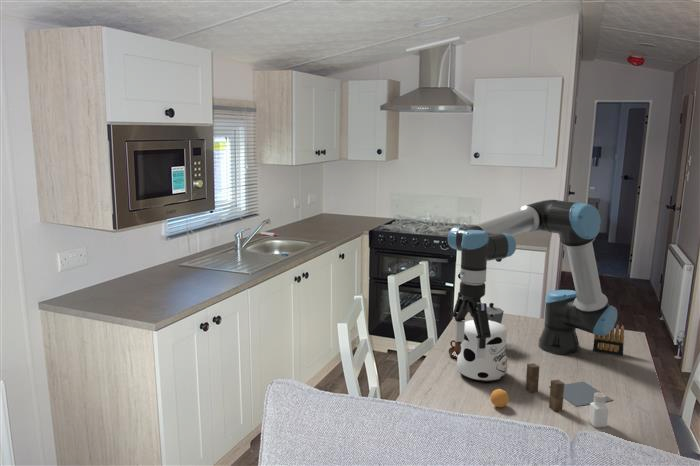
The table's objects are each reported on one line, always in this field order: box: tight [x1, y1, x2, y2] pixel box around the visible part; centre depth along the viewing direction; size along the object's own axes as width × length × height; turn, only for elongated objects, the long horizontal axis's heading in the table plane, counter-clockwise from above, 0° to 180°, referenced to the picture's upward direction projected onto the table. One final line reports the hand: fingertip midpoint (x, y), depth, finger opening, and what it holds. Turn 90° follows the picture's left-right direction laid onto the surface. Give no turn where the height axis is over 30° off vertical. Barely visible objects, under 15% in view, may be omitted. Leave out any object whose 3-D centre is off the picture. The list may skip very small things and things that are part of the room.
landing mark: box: [548, 380, 614, 408], centre depth 185 cm, size 14×14×1 cm
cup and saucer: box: [448, 339, 461, 359], centre depth 215 cm, size 12×12×6 cm
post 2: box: [548, 379, 565, 412], centre depth 174 cm, size 3×3×9 cm
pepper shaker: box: [588, 392, 609, 428], centre depth 165 cm, size 4×4×10 cm
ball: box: [490, 388, 510, 408], centre depth 176 cm, size 6×6×6 cm
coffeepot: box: [487, 302, 504, 324], centre depth 225 cm, size 15×9×18 cm, turn 167°
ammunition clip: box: [592, 324, 625, 356], centre depth 218 cm, size 11×2×12 cm, turn 65°
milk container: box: [456, 319, 508, 383], centre depth 198 cm, size 17×17×18 cm
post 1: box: [525, 362, 540, 394], centre depth 187 cm, size 3×3×9 cm
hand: (469, 349), depth 172 cm, fingers open, 13 cm apart
